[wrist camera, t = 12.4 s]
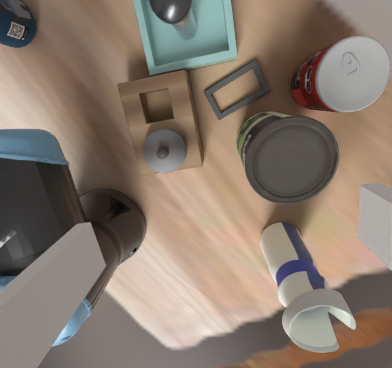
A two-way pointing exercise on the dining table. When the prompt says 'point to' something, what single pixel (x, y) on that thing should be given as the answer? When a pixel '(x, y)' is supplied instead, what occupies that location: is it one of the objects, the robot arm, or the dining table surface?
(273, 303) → the dining table surface
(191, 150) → the block
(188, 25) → the pin
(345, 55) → the canned food
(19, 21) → the soda can
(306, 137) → the coffee can
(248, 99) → the gray rectangular frame
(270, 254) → the water bottle
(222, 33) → the tray
